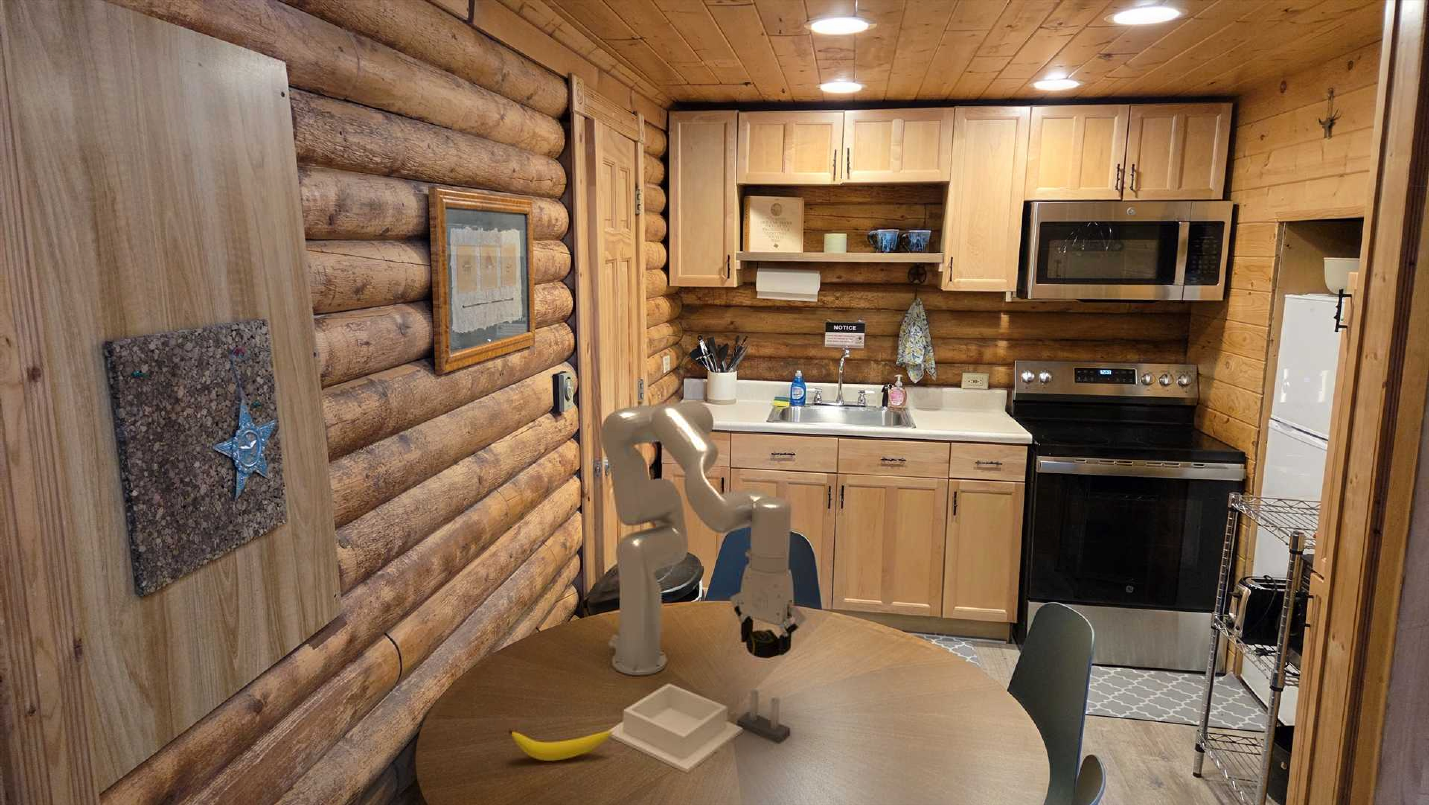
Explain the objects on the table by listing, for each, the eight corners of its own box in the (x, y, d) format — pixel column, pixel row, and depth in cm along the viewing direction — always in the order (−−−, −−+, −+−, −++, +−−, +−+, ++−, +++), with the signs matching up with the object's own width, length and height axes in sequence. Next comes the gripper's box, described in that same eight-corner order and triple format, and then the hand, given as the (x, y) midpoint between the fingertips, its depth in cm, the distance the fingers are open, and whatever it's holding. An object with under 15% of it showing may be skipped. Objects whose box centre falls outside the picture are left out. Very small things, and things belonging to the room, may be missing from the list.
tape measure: (785, 659, 164) (787, 642, 163) (753, 663, 162) (754, 645, 161) (772, 644, 170) (773, 627, 170) (740, 648, 168) (741, 630, 168)
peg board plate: (737, 726, 170) (738, 691, 168) (748, 718, 173) (749, 684, 172) (779, 743, 164) (781, 708, 163) (789, 735, 167) (791, 699, 166)
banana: (612, 760, 157) (613, 728, 156) (508, 767, 153) (507, 734, 152) (612, 751, 159) (612, 720, 158) (509, 757, 156) (509, 726, 155)
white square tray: (606, 735, 165) (607, 710, 164) (664, 699, 179) (665, 676, 178) (687, 773, 153) (688, 746, 152) (742, 731, 168) (743, 707, 167)
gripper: (721, 556, 165) (718, 640, 168) (798, 577, 155) (793, 666, 158) (742, 546, 171) (739, 628, 174) (818, 566, 161) (813, 652, 164)
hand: (765, 646), depth 166 cm, fingers closed on tape measure, 8 cm apart
